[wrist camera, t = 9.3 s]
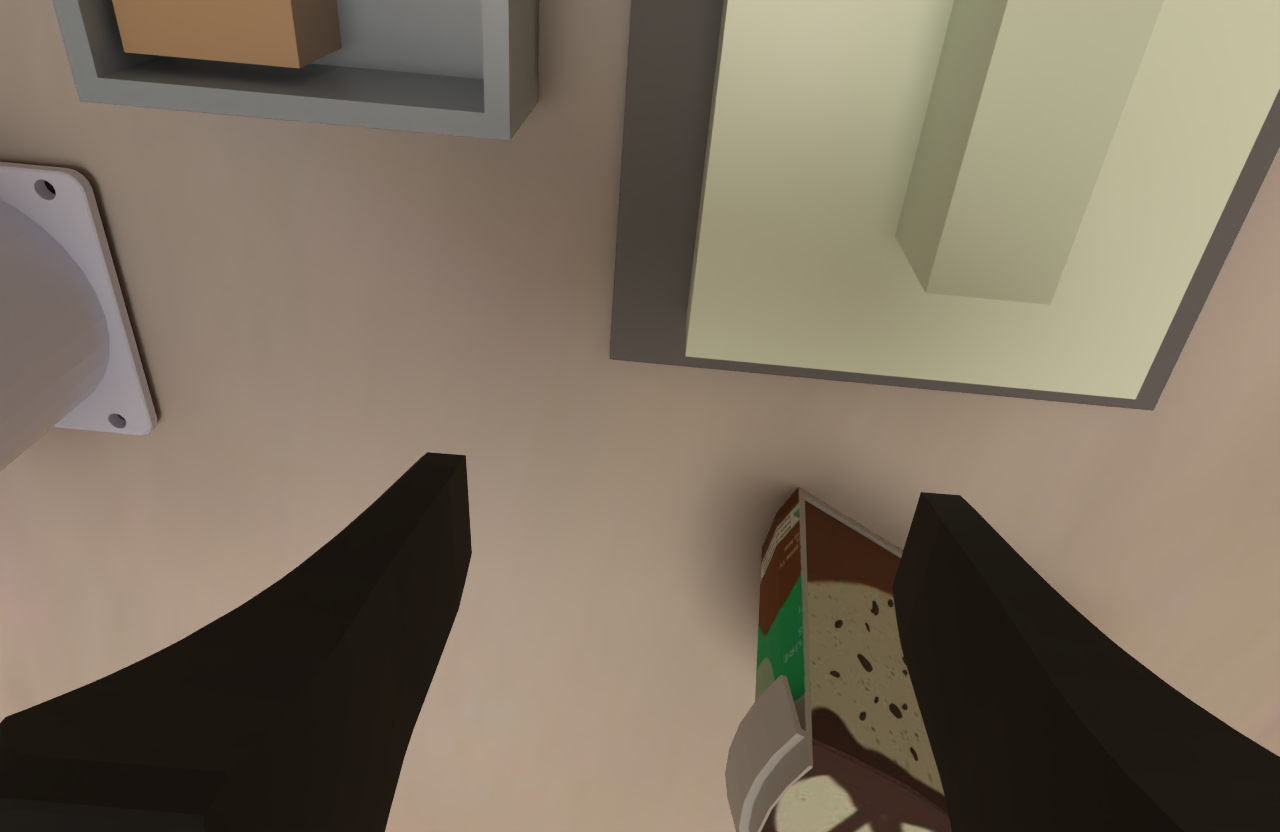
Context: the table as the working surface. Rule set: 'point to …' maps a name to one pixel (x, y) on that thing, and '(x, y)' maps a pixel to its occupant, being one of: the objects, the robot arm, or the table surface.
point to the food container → (831, 690)
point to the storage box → (313, 60)
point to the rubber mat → (671, 190)
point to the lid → (970, 182)
